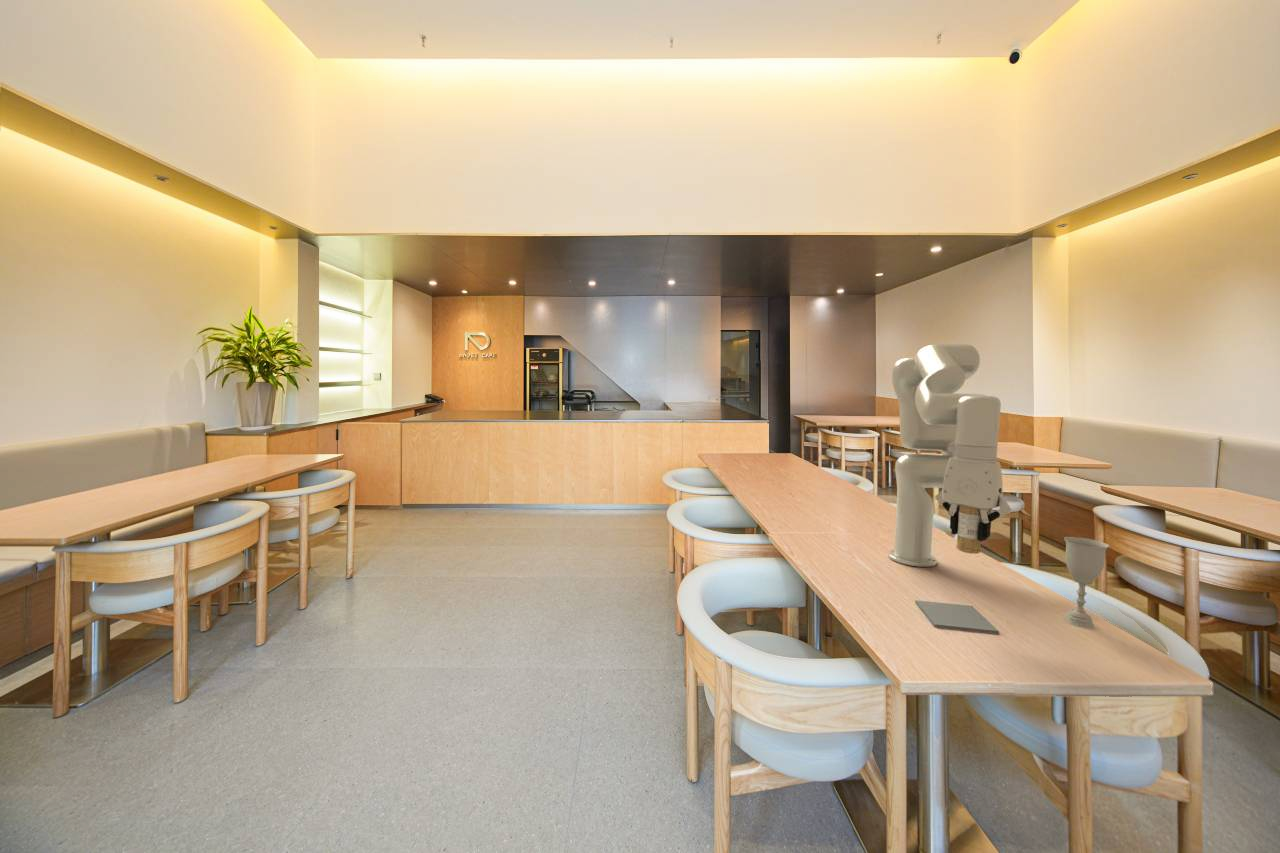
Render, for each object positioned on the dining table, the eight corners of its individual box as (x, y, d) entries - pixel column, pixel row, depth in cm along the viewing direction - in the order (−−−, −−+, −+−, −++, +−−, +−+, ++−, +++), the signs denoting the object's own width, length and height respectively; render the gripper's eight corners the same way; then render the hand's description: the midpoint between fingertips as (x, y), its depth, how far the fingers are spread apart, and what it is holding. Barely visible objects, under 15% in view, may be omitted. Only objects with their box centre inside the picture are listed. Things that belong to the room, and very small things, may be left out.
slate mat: (915, 602, 114) (915, 600, 114) (972, 608, 112) (972, 605, 112) (934, 627, 102) (934, 624, 102) (998, 633, 100) (998, 631, 100)
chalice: (1050, 617, 107) (1056, 538, 106) (1067, 612, 110) (1074, 535, 109) (1091, 633, 101) (1098, 549, 99) (1108, 627, 103) (1116, 545, 102)
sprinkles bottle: (979, 549, 106) (984, 489, 104) (981, 555, 102) (986, 493, 101) (955, 545, 108) (959, 486, 107) (955, 551, 104) (959, 490, 103)
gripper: (925, 449, 108) (920, 529, 110) (1015, 460, 94) (1008, 551, 96) (941, 447, 112) (936, 524, 114) (1030, 457, 98) (1022, 544, 100)
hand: (969, 535), depth 105 cm, fingers closed on sprinkles bottle, 4 cm apart
